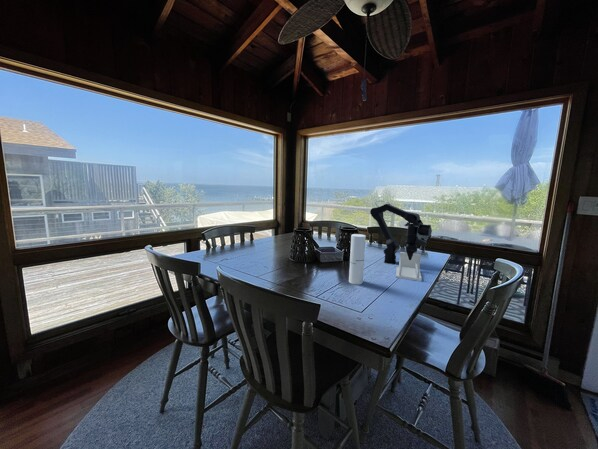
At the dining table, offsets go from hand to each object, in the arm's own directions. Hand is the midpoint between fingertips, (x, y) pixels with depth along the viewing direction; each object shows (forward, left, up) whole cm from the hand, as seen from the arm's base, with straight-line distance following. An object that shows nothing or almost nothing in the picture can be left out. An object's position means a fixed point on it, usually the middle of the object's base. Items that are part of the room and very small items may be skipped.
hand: (409, 258), depth 160 cm
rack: (-1, -15, -6) cm, 16 cm away
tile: (0, 0, -6) cm, 6 cm away
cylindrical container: (-27, -40, -6) cm, 49 cm away
